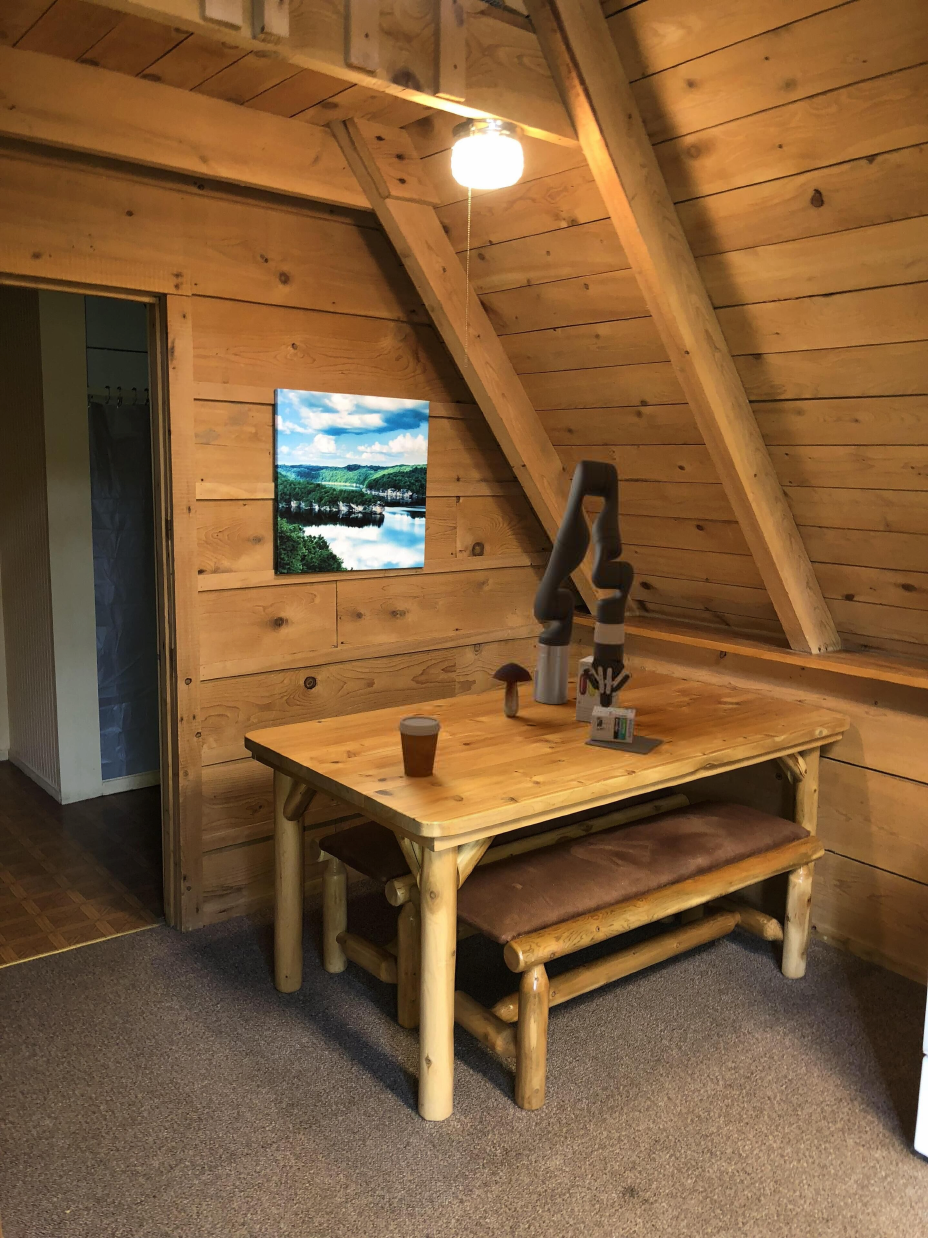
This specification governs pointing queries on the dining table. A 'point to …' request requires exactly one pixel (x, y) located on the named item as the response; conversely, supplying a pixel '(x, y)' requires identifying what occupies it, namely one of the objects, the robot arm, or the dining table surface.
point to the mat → (629, 744)
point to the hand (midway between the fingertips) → (605, 706)
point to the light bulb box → (612, 724)
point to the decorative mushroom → (511, 685)
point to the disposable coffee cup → (419, 744)
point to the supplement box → (590, 693)
